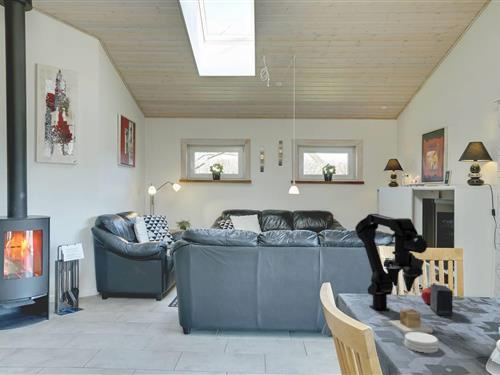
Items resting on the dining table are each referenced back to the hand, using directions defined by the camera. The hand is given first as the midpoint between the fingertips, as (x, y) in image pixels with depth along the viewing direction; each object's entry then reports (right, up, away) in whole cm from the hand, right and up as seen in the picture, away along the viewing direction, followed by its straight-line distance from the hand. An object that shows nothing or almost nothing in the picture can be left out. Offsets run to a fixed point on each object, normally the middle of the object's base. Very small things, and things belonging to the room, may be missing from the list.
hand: (402, 288), depth 150 cm
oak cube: (-1, -11, -11) cm, 15 cm away
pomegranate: (+23, -13, +22) cm, 35 cm away
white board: (-1, -12, -11) cm, 16 cm away
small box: (+21, -13, +9) cm, 26 cm away
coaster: (-5, -12, -29) cm, 31 cm away
